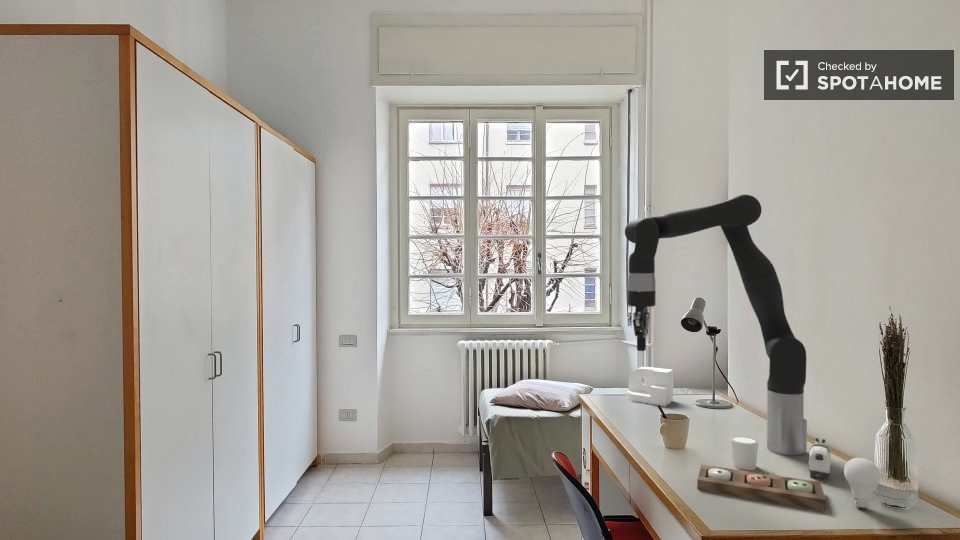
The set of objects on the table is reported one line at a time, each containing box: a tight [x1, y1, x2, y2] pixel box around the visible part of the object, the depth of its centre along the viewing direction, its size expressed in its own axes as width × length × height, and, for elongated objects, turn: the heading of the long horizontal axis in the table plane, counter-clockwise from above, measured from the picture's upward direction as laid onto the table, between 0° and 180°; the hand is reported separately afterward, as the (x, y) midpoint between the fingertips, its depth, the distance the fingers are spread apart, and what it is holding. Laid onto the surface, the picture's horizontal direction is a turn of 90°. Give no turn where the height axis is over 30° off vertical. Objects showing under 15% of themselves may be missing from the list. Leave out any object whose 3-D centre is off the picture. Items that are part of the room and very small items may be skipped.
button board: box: [696, 464, 827, 512], centre depth 133 cm, size 26×11×2 cm, turn 64°
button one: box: [708, 468, 731, 481], centre depth 136 cm, size 5×5×2 cm
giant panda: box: [808, 437, 831, 481], centre depth 144 cm, size 12×5×8 cm, turn 147°
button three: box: [747, 474, 771, 487], centre depth 133 cm, size 5×5×2 cm
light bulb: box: [843, 457, 881, 510], centre depth 123 cm, size 7×7×11 cm
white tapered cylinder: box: [729, 435, 759, 471], centre depth 149 cm, size 7×7×7 cm
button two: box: [788, 480, 813, 494], centre depth 129 cm, size 5×5×2 cm
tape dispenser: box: [625, 366, 674, 407], centre depth 218 cm, size 16×10×13 cm, turn 55°
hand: (641, 350), depth 159 cm, fingers closed
